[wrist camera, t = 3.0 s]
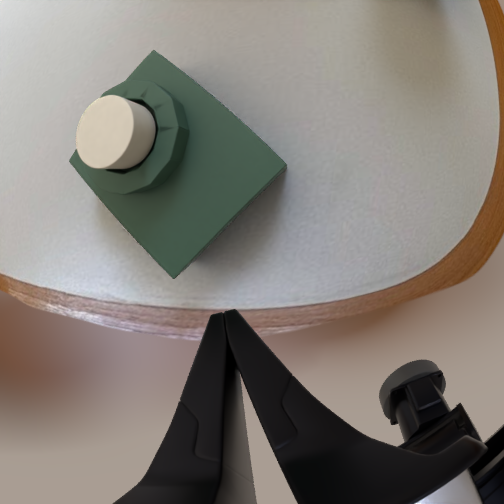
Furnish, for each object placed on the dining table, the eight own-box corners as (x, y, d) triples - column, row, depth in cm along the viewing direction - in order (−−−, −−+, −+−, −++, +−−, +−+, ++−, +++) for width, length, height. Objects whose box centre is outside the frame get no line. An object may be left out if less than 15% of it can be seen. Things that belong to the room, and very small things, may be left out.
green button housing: (287, 167, 19) (287, 162, 13) (193, 261, 22) (162, 290, 16) (175, 68, 18) (141, 39, 12) (100, 161, 21) (52, 161, 15)
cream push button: (169, 129, 14) (148, 122, 12) (126, 182, 15) (101, 184, 13) (129, 92, 14) (105, 82, 11) (91, 142, 15) (65, 140, 12)
